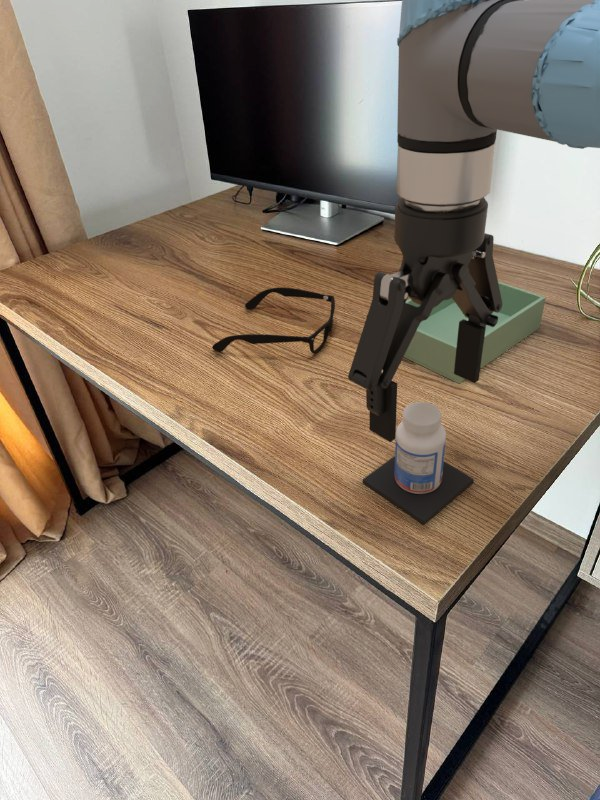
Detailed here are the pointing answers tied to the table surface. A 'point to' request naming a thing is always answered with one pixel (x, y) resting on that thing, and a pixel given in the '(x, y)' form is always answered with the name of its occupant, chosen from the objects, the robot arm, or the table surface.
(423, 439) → the pill bottle
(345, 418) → the table surface
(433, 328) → the tote
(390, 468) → the mat
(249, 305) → the glasses
